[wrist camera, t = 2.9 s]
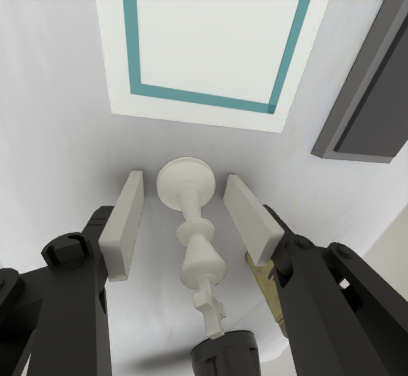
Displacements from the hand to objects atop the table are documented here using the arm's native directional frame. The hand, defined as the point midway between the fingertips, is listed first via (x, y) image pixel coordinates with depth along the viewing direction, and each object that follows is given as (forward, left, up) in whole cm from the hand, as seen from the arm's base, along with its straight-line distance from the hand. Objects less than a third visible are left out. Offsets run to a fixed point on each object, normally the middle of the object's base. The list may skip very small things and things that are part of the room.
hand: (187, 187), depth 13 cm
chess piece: (0, 0, -1) cm, 1 cm away
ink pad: (+9, -15, -1) cm, 18 cm away
